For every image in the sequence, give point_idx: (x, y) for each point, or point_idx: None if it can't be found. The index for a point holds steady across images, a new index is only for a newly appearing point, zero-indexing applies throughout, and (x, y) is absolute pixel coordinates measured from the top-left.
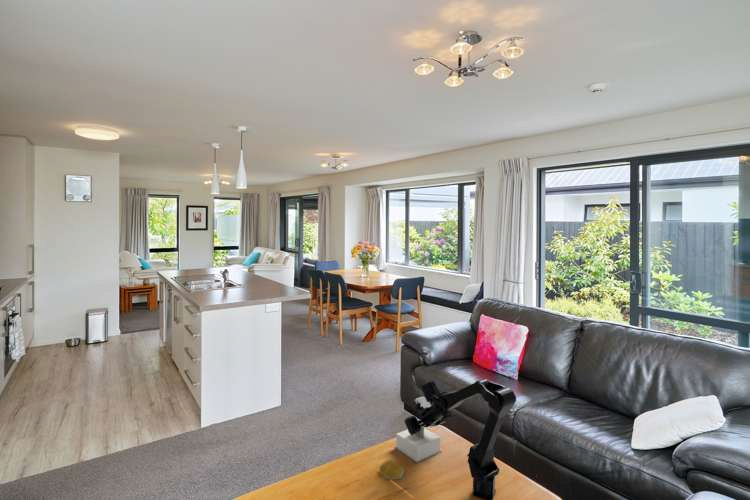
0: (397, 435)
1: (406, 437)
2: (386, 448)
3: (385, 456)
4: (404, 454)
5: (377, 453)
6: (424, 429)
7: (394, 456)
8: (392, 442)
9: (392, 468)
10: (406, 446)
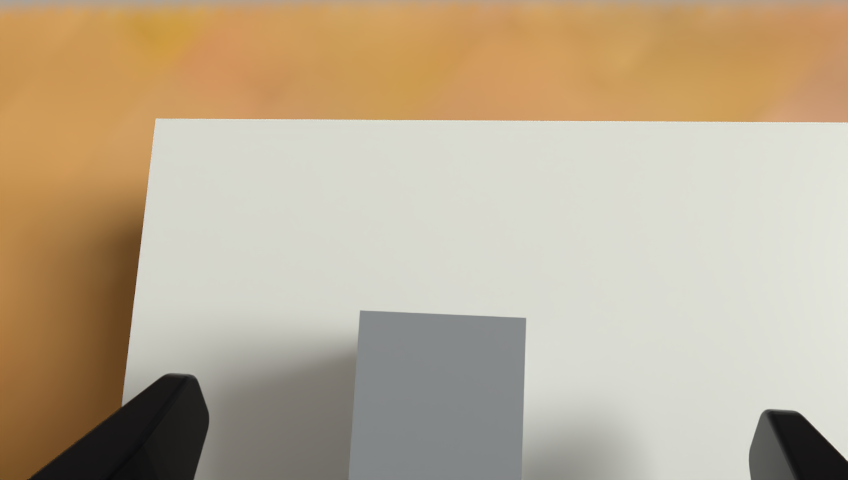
0: (165, 158)
1: None
2: (178, 105)
3: (31, 251)
4: None
5: (9, 131)
6: (829, 377)
7: (115, 329)
8: (351, 30)
9: None
10: None
